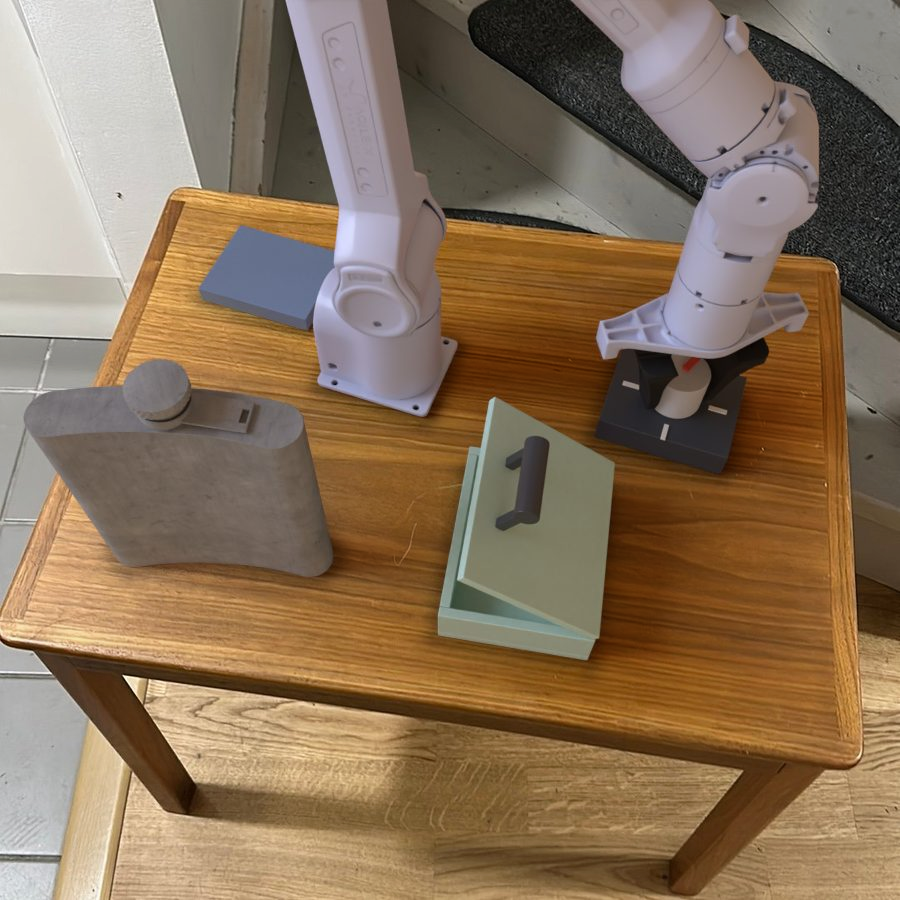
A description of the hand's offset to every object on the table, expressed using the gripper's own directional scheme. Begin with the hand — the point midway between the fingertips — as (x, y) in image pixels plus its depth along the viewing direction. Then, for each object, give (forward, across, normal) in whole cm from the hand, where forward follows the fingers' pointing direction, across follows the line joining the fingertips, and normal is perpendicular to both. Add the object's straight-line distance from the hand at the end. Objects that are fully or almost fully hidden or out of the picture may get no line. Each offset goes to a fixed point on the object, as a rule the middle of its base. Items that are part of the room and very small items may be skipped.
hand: (675, 394), depth 71 cm
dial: (0, 0, 0) cm, 0 cm away
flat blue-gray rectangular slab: (+3, +30, -20) cm, 36 cm away
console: (+3, 0, 0) cm, 3 cm away
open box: (+3, +14, +10) cm, 18 cm away
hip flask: (+3, +35, +5) cm, 36 cm away
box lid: (-4, +14, +10) cm, 18 cm away
